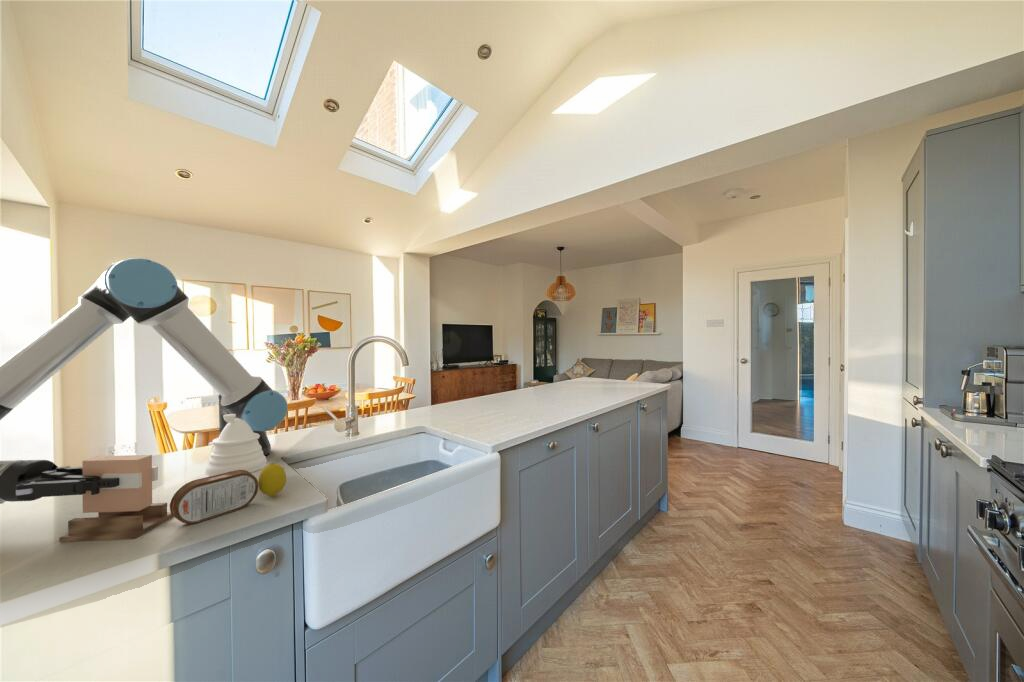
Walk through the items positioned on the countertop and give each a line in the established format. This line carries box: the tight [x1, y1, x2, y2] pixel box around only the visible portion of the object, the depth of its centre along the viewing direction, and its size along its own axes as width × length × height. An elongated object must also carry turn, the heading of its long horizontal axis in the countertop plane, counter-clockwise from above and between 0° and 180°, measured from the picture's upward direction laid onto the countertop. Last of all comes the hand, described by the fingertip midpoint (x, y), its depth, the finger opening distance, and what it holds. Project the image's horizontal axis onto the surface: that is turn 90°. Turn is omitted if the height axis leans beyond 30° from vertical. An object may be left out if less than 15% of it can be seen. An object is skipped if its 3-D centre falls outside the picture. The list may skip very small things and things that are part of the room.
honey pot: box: [204, 414, 267, 480], centre depth 99 cm, size 13×13×18 cm
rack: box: [58, 502, 174, 543], centre depth 75 cm, size 13×9×3 cm
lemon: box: [258, 462, 287, 498], centre depth 90 cm, size 6×6×8 cm
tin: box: [169, 470, 259, 524], centre depth 81 cm, size 15×3×8 cm, turn 146°
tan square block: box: [81, 454, 153, 514], centre depth 75 cm, size 10×3×10 cm, turn 95°
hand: (148, 476), depth 76 cm, fingers closed on tan square block, 3 cm apart
